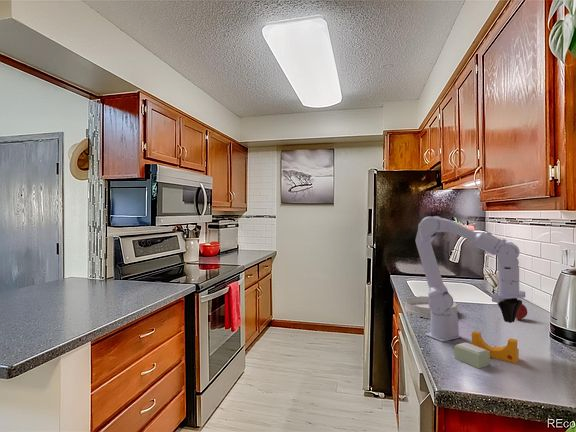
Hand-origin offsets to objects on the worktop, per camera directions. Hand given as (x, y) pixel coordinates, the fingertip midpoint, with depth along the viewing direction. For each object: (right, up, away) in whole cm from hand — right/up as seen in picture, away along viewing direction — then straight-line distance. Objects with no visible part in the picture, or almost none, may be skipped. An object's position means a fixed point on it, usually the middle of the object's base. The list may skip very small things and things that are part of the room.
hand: (509, 321), depth 113 cm
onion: (+25, -9, +32) cm, 41 cm away
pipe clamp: (-7, -10, -4) cm, 13 cm away
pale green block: (-17, -10, -8) cm, 21 cm away
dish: (-7, -10, +44) cm, 46 cm away
